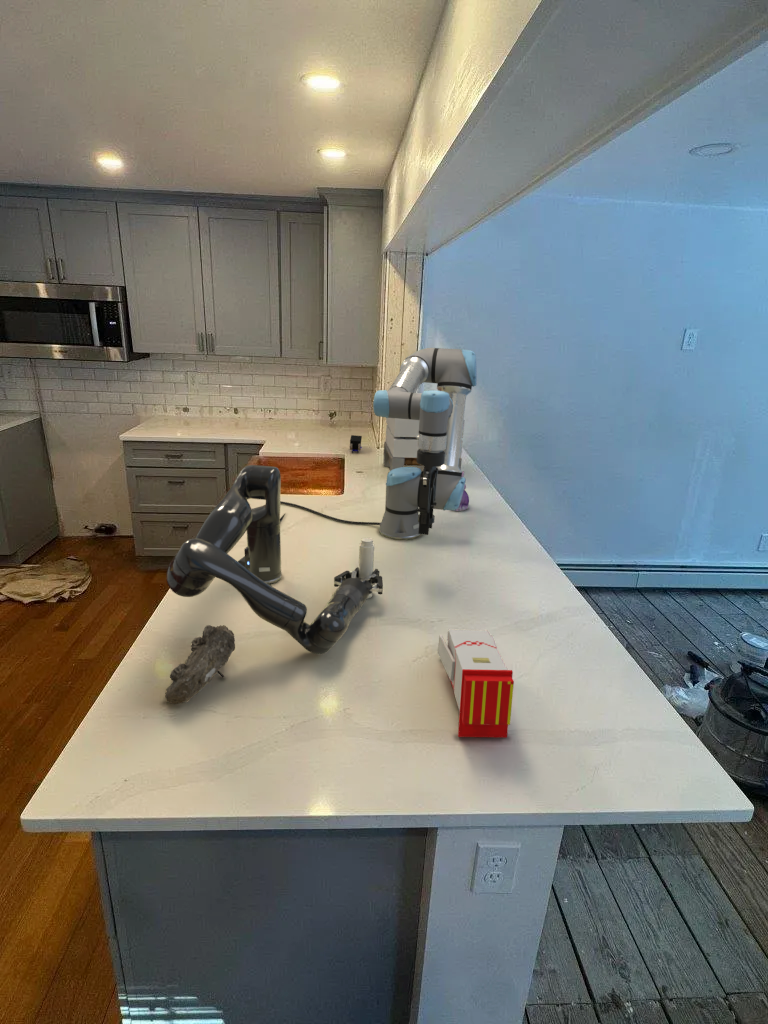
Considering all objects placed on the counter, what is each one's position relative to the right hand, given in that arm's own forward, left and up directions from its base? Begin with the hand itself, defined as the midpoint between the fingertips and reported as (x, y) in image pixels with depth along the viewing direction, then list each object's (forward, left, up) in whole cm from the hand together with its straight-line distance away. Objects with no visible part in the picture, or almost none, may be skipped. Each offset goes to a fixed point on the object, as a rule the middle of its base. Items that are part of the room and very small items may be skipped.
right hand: (425, 530), depth 160 cm
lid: (0, 0, +4) cm, 4 cm away
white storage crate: (-84, +81, -16) cm, 118 cm away
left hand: (-5, -16, -10) cm, 20 cm away
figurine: (-38, +58, -16) cm, 71 cm away
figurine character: (-135, +81, -16) cm, 159 cm away
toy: (+42, -27, -16) cm, 53 cm away
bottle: (-3, -18, -16) cm, 25 cm away
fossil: (+5, -68, -16) cm, 70 cm away
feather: (-68, -5, -16) cm, 70 cm away
